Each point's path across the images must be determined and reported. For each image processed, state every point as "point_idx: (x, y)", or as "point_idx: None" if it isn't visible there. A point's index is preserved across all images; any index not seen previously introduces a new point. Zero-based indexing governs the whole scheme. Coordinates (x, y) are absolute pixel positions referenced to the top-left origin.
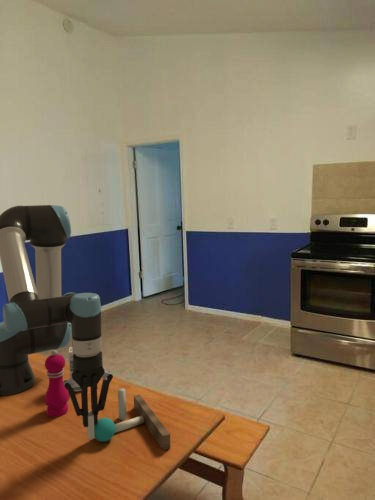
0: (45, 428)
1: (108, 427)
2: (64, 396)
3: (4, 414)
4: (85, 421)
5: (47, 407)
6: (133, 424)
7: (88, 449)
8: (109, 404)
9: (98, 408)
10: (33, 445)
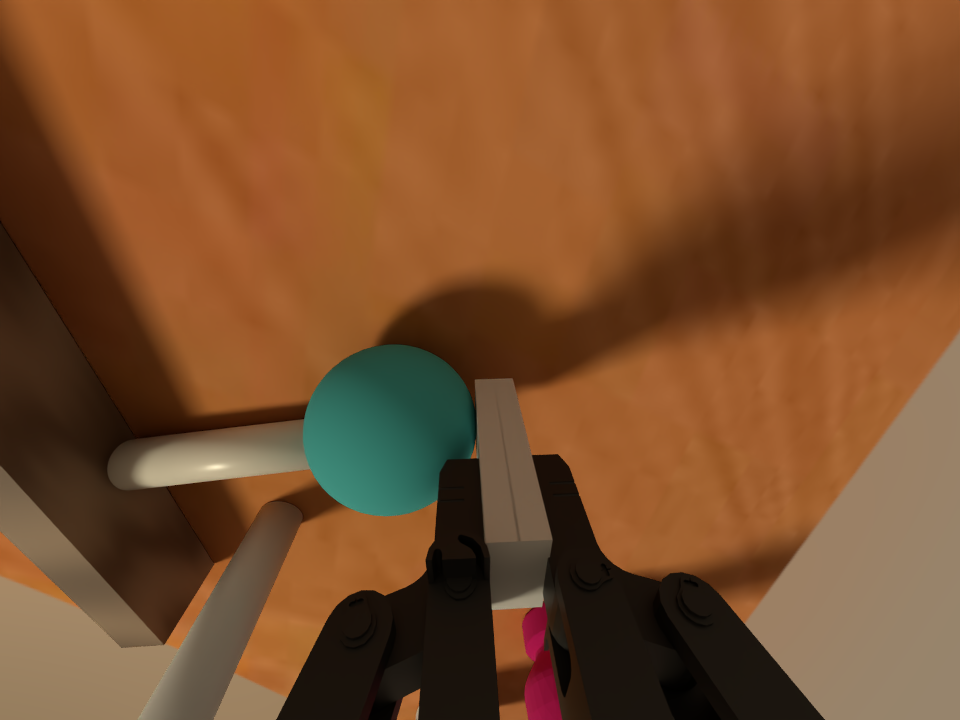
0: (645, 549)
1: (353, 401)
2: None
3: None
4: (562, 499)
5: None
6: (196, 437)
7: (517, 333)
8: None
9: (411, 631)
10: (741, 468)
